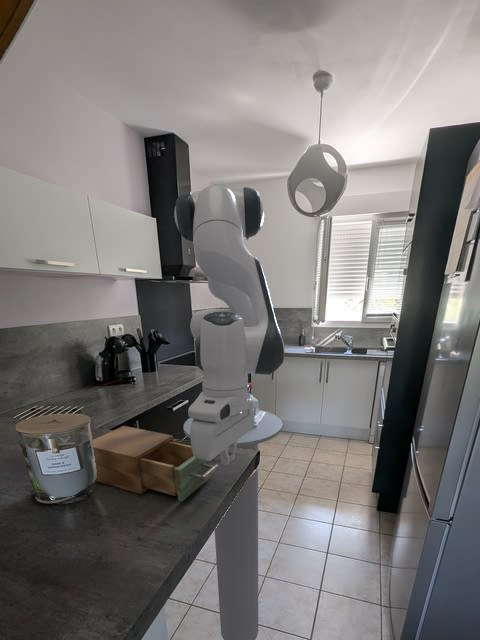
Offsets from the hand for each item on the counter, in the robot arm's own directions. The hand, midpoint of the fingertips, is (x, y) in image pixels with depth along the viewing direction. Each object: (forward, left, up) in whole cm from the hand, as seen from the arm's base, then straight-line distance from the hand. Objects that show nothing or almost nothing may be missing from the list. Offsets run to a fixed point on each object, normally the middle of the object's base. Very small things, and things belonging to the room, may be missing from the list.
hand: (227, 461), depth 76 cm
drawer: (0, -14, -9) cm, 17 cm away
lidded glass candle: (+14, -38, -10) cm, 42 cm away
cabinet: (0, -28, -10) cm, 30 cm away
